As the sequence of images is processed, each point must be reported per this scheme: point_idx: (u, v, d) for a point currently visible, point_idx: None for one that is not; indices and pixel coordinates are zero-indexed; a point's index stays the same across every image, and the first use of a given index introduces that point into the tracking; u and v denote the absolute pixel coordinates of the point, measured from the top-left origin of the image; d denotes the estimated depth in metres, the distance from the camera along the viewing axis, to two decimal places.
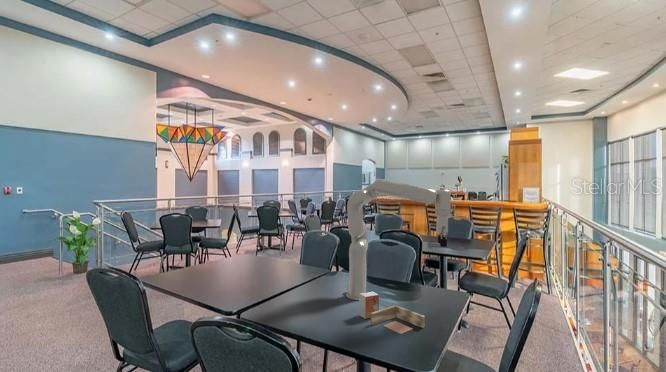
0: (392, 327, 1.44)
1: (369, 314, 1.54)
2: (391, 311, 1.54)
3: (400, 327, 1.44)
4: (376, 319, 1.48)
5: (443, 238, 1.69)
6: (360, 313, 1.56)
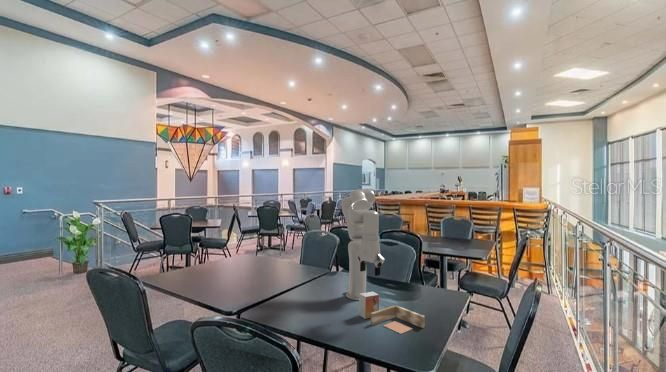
0: (392, 327, 1.44)
1: (369, 314, 1.54)
2: (391, 311, 1.54)
3: (400, 327, 1.44)
4: (376, 319, 1.48)
5: (379, 266, 1.52)
6: (360, 313, 1.56)
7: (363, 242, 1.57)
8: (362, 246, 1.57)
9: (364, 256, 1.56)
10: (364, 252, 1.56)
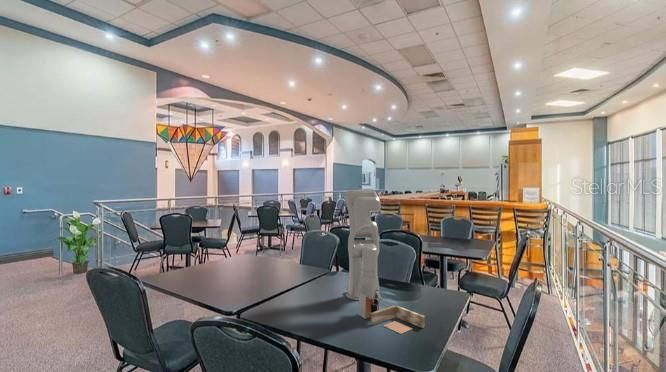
0: (392, 327, 1.44)
1: (369, 314, 1.54)
2: (391, 311, 1.54)
3: (400, 327, 1.44)
4: (376, 319, 1.48)
5: (376, 304, 1.53)
6: (360, 313, 1.56)
7: (362, 278, 1.57)
8: (361, 282, 1.58)
9: (363, 292, 1.56)
10: (363, 288, 1.56)
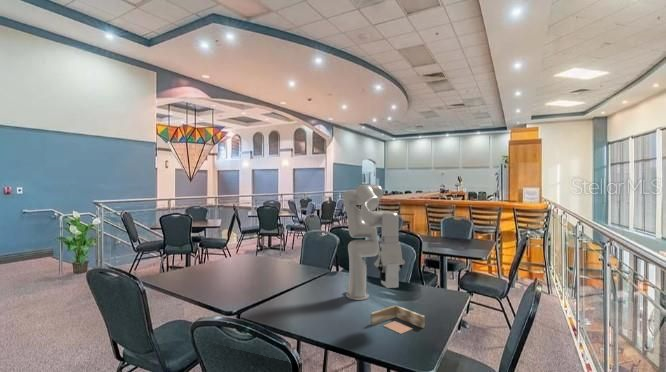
0: (392, 327, 1.44)
1: None
2: (391, 311, 1.54)
3: (400, 327, 1.44)
4: (376, 319, 1.48)
5: None
6: (390, 284, 1.44)
7: (389, 246, 1.45)
8: (388, 251, 1.45)
9: (391, 261, 1.45)
10: (390, 257, 1.45)
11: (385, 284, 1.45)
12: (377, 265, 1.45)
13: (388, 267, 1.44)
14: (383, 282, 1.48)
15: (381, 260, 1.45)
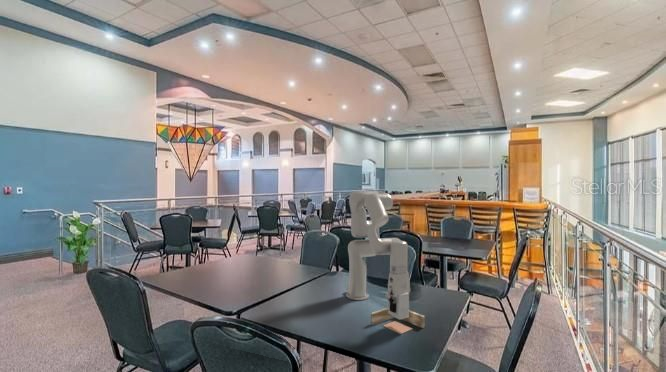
0: (392, 327, 1.44)
1: None
2: None
3: (400, 327, 1.44)
4: (376, 319, 1.48)
5: None
6: (402, 316, 1.40)
7: (400, 276, 1.41)
8: (399, 281, 1.41)
9: (401, 291, 1.42)
10: (401, 287, 1.42)
11: (396, 315, 1.41)
12: (389, 297, 1.40)
13: (400, 298, 1.40)
14: (392, 313, 1.44)
15: (393, 291, 1.40)
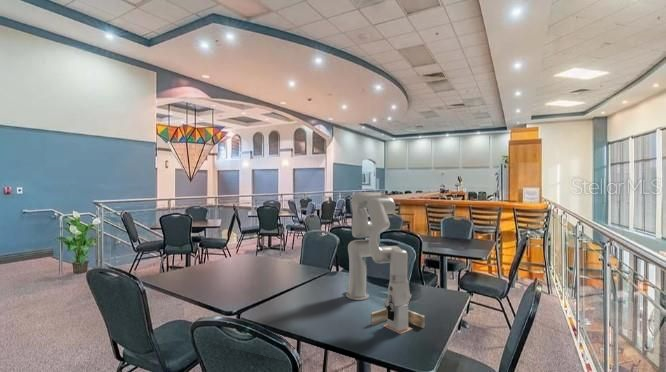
0: None
1: None
2: None
3: None
4: (376, 319, 1.48)
5: None
6: (401, 327, 1.41)
7: (400, 285, 1.41)
8: (399, 290, 1.41)
9: (401, 300, 1.42)
10: (401, 296, 1.42)
11: (395, 327, 1.41)
12: (387, 304, 1.39)
13: (400, 310, 1.40)
14: (391, 324, 1.44)
15: (393, 298, 1.40)
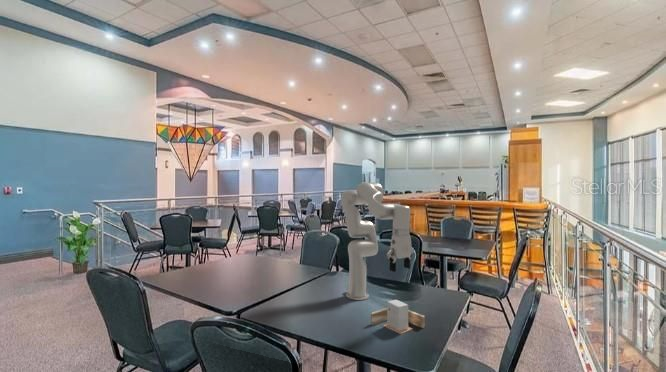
0: None
1: None
2: None
3: None
4: (376, 319, 1.48)
5: None
6: (401, 327, 1.41)
7: (402, 239, 1.47)
8: (401, 243, 1.47)
9: (403, 253, 1.48)
10: (403, 249, 1.48)
11: (395, 327, 1.41)
12: (389, 255, 1.46)
13: (400, 310, 1.40)
14: (391, 324, 1.44)
15: (395, 250, 1.47)
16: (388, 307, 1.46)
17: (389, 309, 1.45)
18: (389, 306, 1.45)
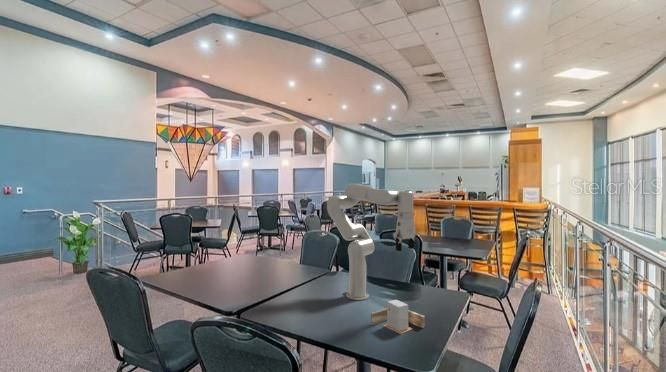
0: None
1: None
2: None
3: None
4: (376, 319, 1.48)
5: None
6: (401, 327, 1.41)
7: (406, 221, 1.62)
8: (406, 225, 1.62)
9: (408, 234, 1.63)
10: (408, 230, 1.63)
11: (395, 327, 1.41)
12: (395, 236, 1.60)
13: (400, 310, 1.40)
14: (391, 324, 1.44)
15: (400, 232, 1.61)
16: (388, 307, 1.46)
17: (389, 309, 1.45)
18: (389, 306, 1.45)
